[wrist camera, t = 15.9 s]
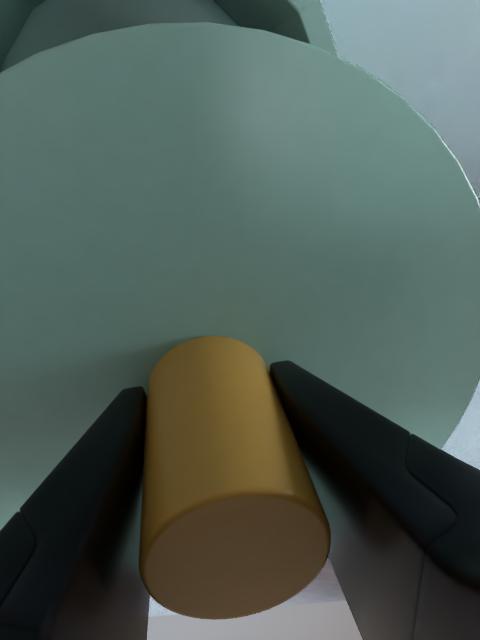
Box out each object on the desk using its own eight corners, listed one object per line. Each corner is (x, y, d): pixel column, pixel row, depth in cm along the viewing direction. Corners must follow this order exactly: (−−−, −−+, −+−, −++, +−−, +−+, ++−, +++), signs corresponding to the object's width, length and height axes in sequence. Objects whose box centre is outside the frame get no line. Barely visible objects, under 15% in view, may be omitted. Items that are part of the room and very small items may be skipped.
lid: (511, -3, 8) (972, -140, 3) (436, 497, 14) (567, 687, 9) (-275, 75, 7) (-1176, 22, 2) (14, 587, 13) (-69, 857, 8)
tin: (284, -57, 15) (357, -151, 10) (293, 259, 21) (344, 320, 15) (-67, -35, 14) (-224, -127, 8) (40, 294, 19) (-12, 375, 14)
